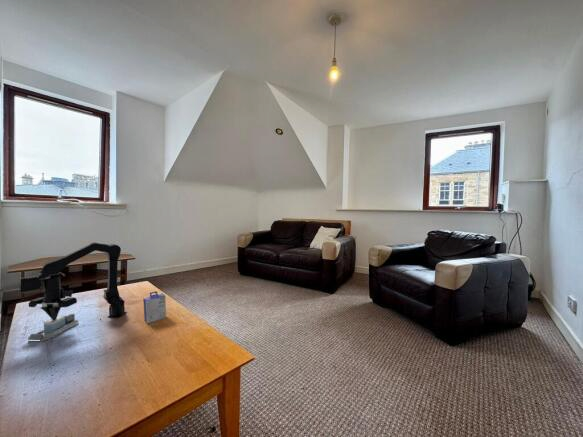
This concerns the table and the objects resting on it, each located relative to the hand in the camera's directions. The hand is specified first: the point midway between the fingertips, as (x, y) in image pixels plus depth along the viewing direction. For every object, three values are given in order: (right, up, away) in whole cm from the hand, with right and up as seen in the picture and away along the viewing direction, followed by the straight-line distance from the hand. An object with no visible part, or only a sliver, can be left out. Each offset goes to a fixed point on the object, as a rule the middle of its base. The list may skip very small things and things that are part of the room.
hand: (54, 319), depth 119 cm
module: (0, -5, 0) cm, 5 cm away
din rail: (0, -6, 0) cm, 6 cm away
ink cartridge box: (+41, -5, +13) cm, 44 cm away
